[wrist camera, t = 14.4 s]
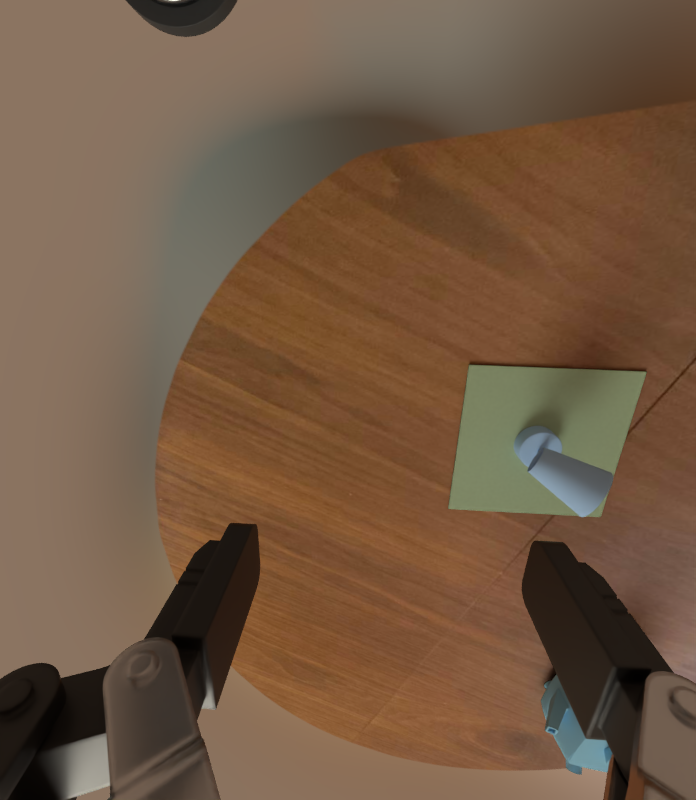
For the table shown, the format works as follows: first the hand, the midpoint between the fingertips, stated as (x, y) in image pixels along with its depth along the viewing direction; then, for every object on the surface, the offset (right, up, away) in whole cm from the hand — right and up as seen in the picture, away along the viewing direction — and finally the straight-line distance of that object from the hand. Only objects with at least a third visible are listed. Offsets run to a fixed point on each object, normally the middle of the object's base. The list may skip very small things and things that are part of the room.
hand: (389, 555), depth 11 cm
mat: (+20, 0, +31) cm, 37 cm away
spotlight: (+20, 0, +31) cm, 37 cm away
